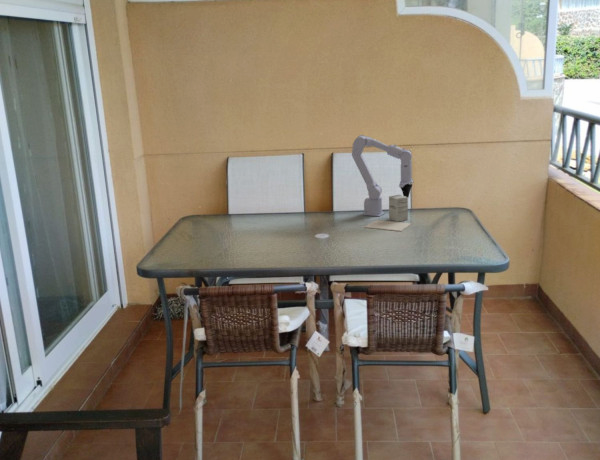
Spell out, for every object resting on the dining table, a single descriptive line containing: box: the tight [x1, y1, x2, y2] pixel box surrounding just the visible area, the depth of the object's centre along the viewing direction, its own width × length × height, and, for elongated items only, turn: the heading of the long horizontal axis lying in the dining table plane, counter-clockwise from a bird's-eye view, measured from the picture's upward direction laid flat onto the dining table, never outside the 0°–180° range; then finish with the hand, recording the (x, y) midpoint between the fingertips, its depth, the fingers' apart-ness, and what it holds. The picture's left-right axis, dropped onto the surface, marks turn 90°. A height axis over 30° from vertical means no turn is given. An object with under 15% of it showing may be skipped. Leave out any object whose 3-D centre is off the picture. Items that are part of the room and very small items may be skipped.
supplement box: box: [388, 194, 409, 222], centre depth 317 cm, size 7×7×13 cm
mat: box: [364, 219, 412, 232], centre depth 308 cm, size 20×14×1 cm
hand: (406, 197), depth 325 cm, fingers closed
